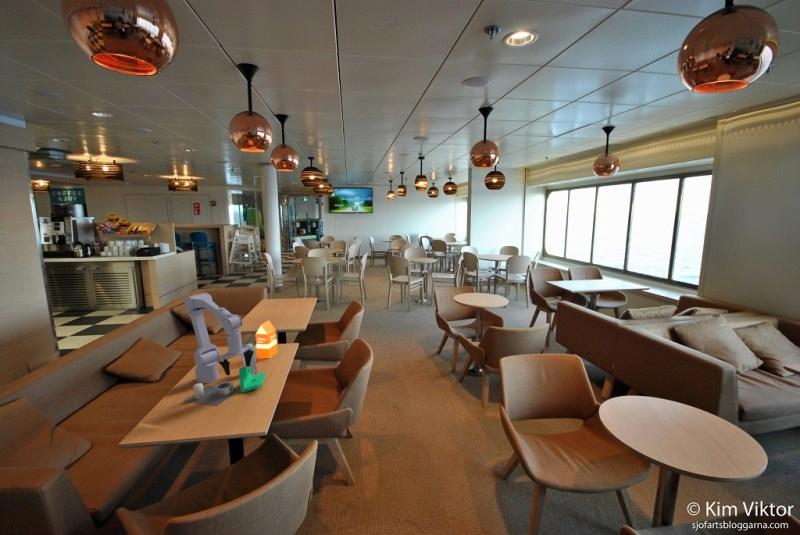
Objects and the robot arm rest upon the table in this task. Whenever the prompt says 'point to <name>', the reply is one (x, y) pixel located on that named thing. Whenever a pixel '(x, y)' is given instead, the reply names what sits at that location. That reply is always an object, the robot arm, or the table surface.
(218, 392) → the sleeve
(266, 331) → the orange juice
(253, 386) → the camera mount
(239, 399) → the table surface
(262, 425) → the table surface
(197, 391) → the plug cap
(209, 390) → the mat
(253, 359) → the beer glass
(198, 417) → the table surface
